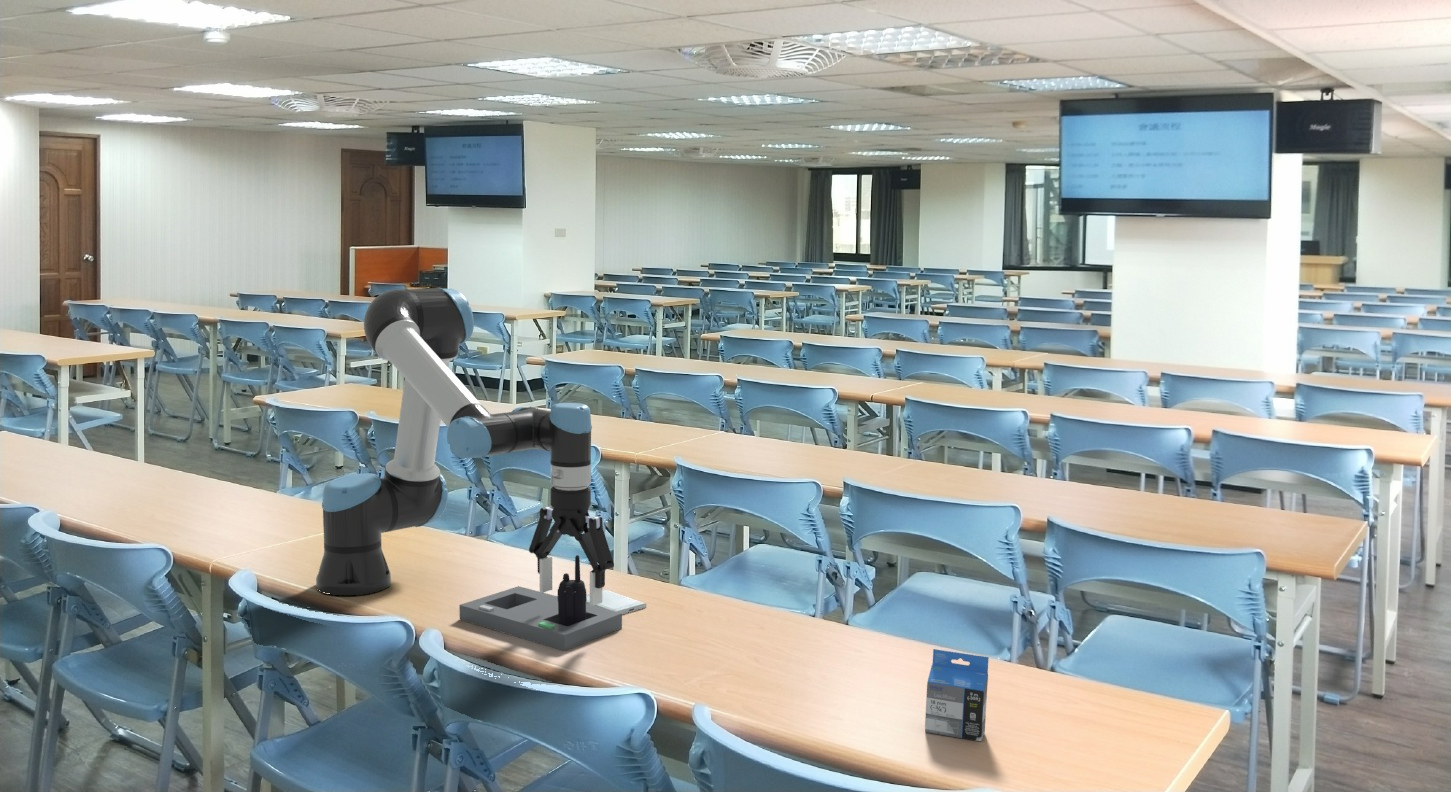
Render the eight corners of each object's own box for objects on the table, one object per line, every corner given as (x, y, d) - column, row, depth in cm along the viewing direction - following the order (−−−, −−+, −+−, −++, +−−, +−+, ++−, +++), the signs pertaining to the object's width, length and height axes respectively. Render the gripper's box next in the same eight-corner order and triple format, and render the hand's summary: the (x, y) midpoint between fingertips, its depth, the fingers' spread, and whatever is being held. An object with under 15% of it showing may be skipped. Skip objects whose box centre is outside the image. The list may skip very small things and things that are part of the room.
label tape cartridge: (923, 733, 186) (926, 656, 184) (928, 723, 189) (931, 648, 187) (981, 742, 182) (985, 665, 181) (985, 733, 186) (989, 656, 184)
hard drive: (576, 597, 247) (616, 610, 238) (606, 589, 253) (646, 602, 244) (576, 605, 247) (616, 618, 239) (606, 596, 253) (646, 609, 244)
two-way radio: (588, 629, 230) (587, 553, 228) (584, 637, 226) (582, 559, 224) (560, 628, 230) (558, 552, 228) (555, 636, 226) (553, 559, 224)
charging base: (459, 619, 235) (459, 602, 234) (518, 600, 247) (518, 584, 247) (564, 650, 218) (564, 632, 218) (622, 628, 231) (622, 611, 231)
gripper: (510, 480, 228) (510, 589, 231) (606, 498, 214) (605, 615, 217) (538, 474, 234) (538, 580, 237) (633, 492, 220) (632, 605, 223)
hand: (570, 597), depth 227 cm, fingers open, 12 cm apart
